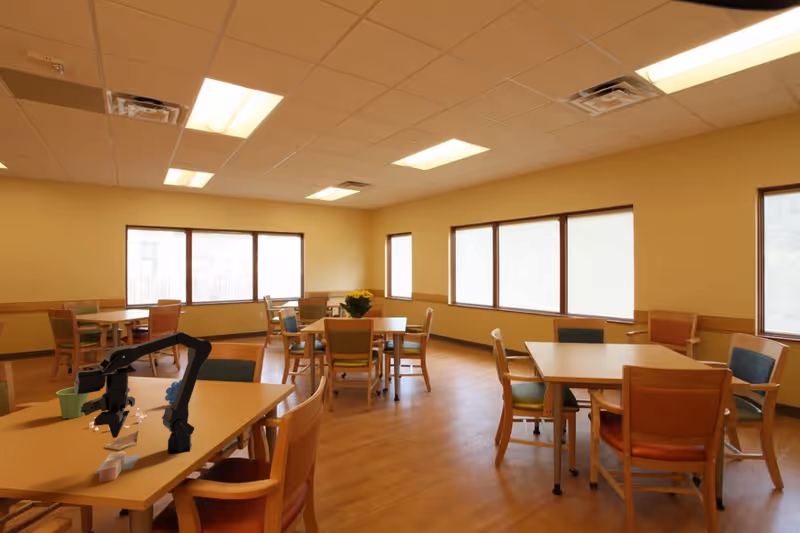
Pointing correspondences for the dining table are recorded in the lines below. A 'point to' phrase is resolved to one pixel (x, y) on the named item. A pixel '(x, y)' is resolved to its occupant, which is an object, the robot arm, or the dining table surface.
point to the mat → (126, 463)
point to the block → (112, 466)
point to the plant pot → (71, 403)
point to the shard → (124, 442)
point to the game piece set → (124, 426)
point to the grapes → (172, 392)
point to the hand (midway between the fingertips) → (115, 437)
